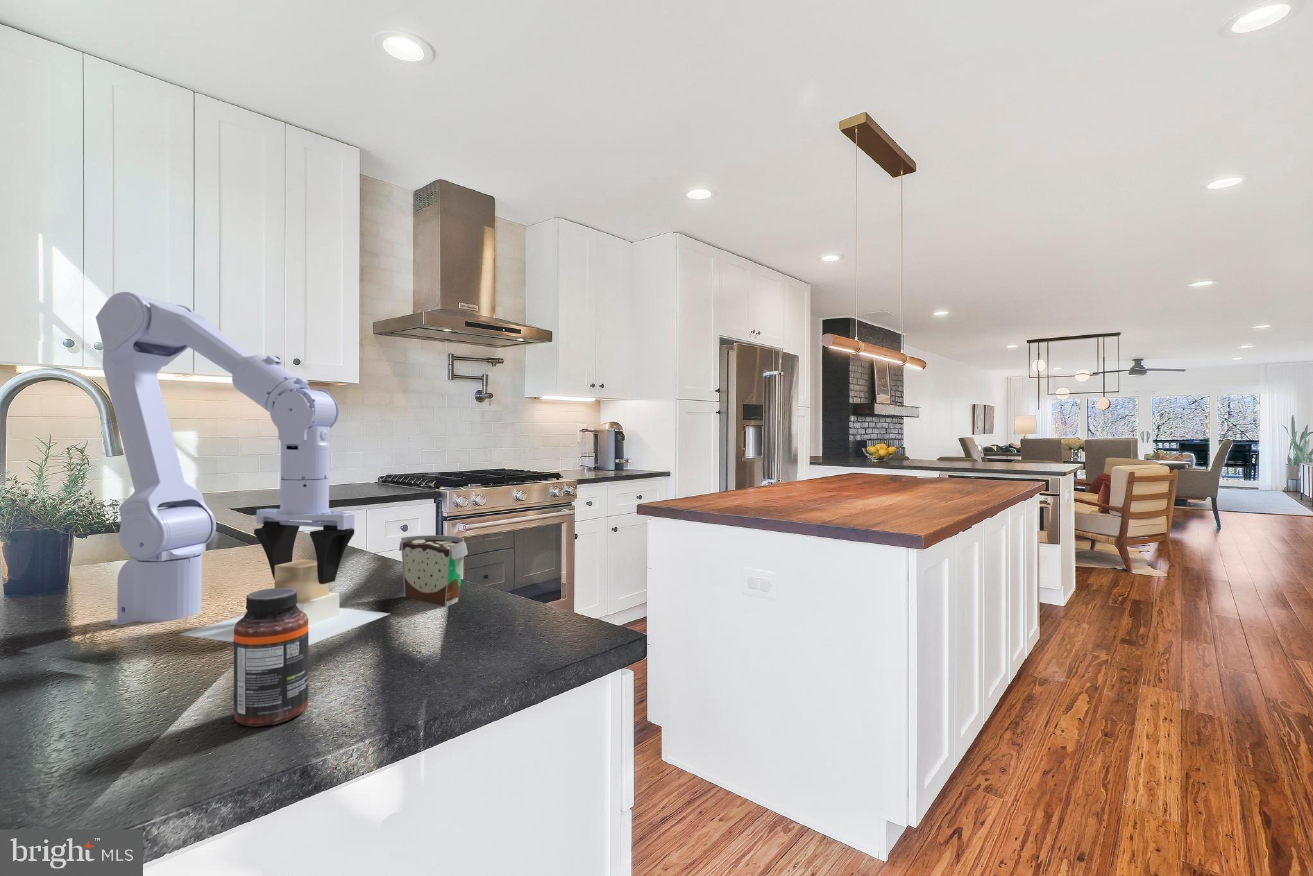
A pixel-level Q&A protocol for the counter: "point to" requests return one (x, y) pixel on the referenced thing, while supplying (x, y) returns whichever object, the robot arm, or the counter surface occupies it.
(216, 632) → the white flat panel
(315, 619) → the base block
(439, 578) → the food container
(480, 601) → the counter surface
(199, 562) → the robot arm
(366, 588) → the counter surface
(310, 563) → the maple block
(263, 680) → the supplement bottle
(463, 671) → the counter surface
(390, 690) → the counter surface
